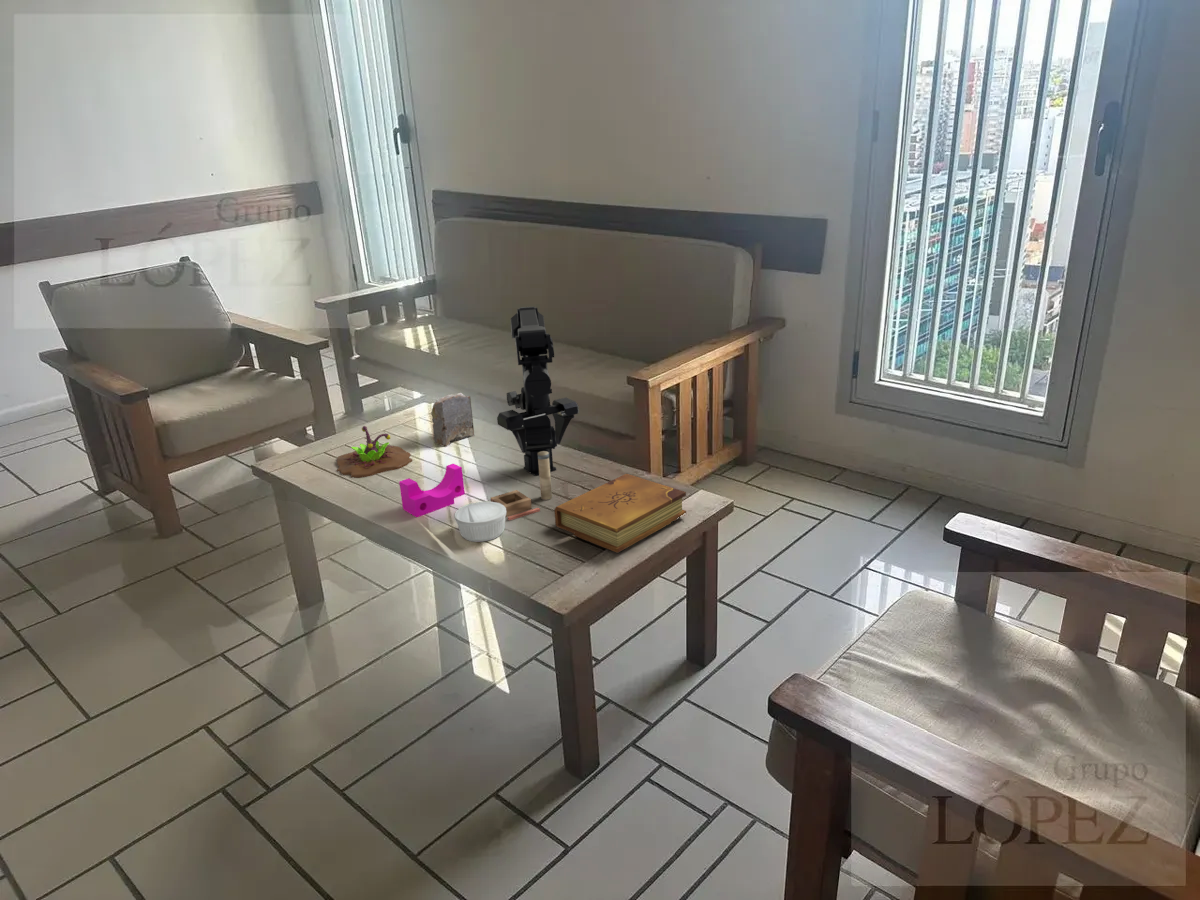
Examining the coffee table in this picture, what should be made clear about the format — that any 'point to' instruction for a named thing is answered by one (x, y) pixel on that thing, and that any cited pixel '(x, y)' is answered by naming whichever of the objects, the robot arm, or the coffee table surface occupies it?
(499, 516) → the ramekin
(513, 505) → the wooden square frame
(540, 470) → the dowel
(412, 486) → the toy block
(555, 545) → the coffee table surface
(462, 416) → the geological specimen
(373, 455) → the plant
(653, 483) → the diary
